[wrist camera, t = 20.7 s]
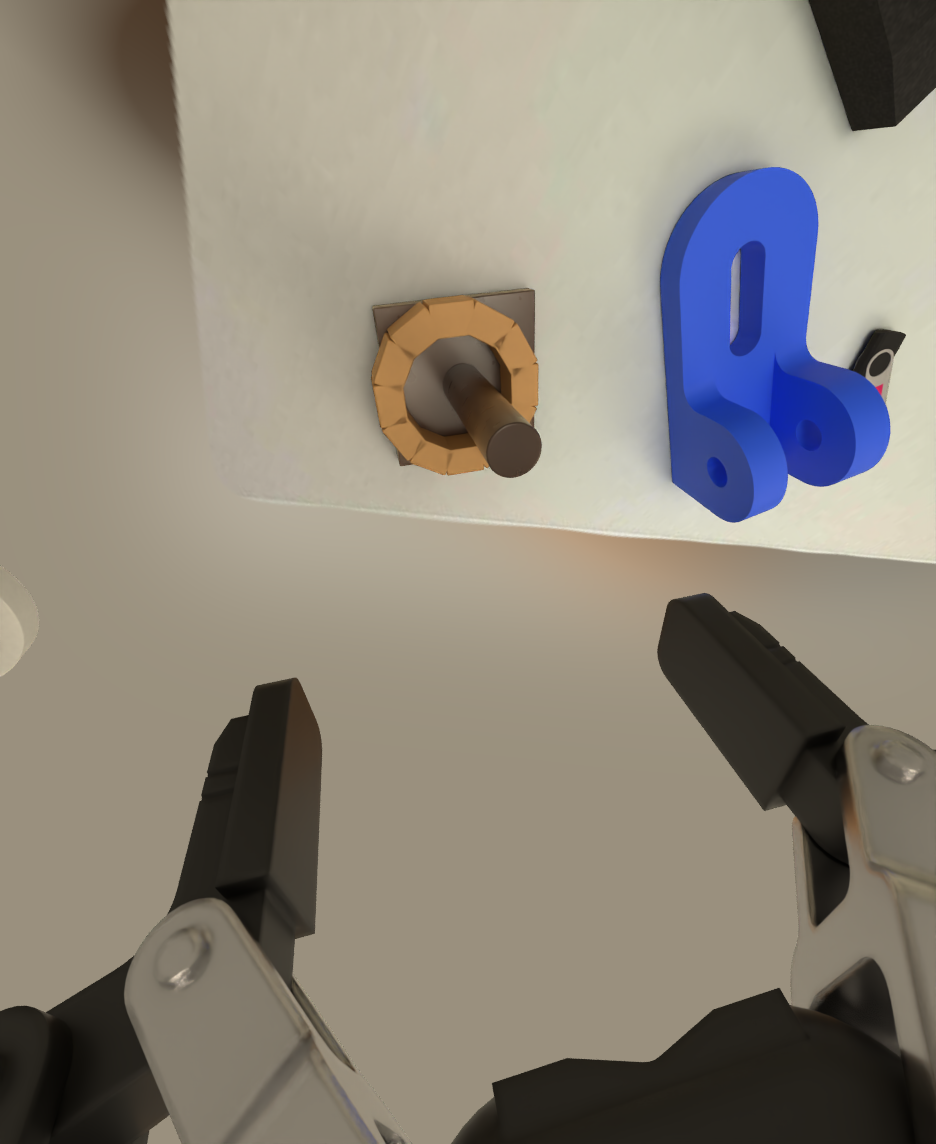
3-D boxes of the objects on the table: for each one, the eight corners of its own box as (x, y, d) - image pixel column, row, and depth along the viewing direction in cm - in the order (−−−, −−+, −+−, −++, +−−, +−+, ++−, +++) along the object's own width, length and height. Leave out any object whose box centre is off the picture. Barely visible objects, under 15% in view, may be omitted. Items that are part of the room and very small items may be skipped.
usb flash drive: (872, 327, 33) (885, 330, 32) (928, 335, 34) (942, 337, 33) (807, 448, 38) (818, 452, 37) (859, 451, 39) (869, 455, 38)
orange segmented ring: (388, 469, 30) (391, 485, 29) (357, 307, 25) (358, 312, 23) (526, 447, 32) (537, 461, 30) (525, 287, 26) (539, 291, 24)
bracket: (772, 441, 37) (876, 491, 30) (672, 482, 37) (750, 541, 30) (797, 146, 26) (970, 112, 19) (655, 205, 26) (772, 194, 19)
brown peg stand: (398, 459, 31) (421, 560, 22) (371, 305, 26) (386, 347, 16) (528, 439, 33) (606, 526, 23) (528, 287, 27) (630, 316, 17)
